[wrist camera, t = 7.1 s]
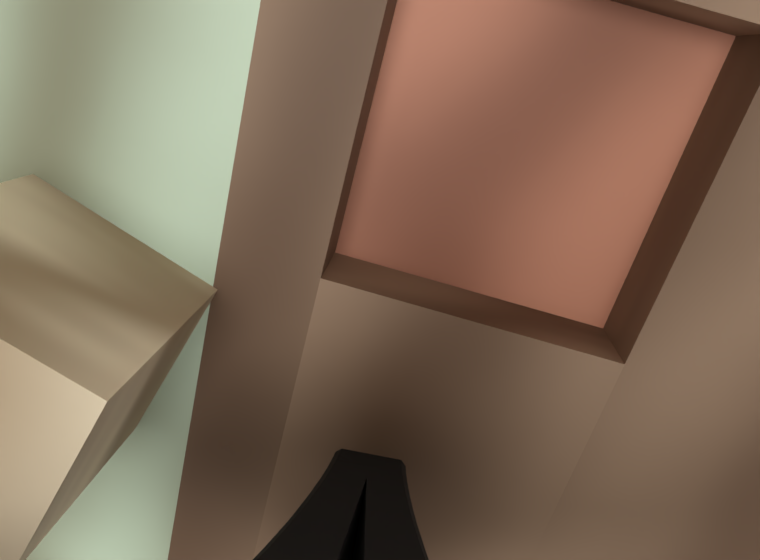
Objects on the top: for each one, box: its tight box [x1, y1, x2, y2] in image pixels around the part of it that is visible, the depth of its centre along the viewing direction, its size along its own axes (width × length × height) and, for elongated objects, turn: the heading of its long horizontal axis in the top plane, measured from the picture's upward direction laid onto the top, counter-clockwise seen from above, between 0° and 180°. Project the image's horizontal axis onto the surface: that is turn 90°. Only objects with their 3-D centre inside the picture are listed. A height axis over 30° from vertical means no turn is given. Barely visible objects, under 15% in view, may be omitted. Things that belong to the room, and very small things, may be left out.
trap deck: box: [0, 0, 760, 560], centre depth 13 cm, size 24×22×2 cm
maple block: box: [0, 174, 218, 560], centre depth 10 cm, size 4×4×4 cm
